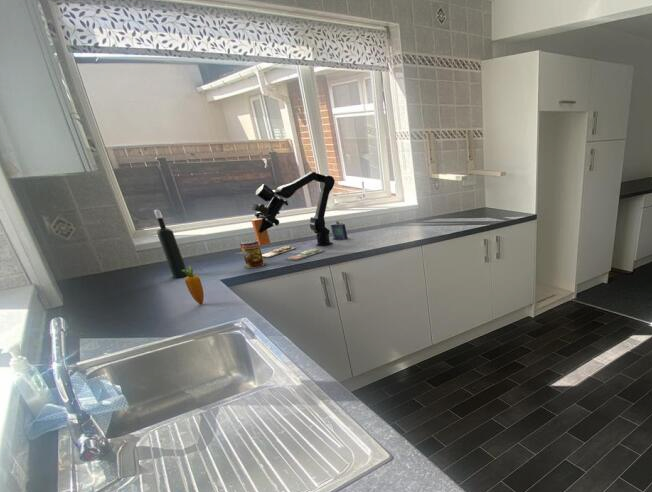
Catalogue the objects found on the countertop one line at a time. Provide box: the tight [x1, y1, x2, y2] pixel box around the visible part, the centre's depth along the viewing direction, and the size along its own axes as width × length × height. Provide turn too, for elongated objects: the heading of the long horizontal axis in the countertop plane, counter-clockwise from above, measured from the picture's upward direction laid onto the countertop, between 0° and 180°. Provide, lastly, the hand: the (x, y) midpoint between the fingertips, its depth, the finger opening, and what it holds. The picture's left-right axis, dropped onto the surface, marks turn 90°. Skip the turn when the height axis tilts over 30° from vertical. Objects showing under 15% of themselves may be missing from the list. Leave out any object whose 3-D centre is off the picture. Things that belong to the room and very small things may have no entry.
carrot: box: [182, 265, 205, 306], centre depth 158 cm, size 5×5×15 cm
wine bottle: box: [153, 209, 188, 279], centre depth 190 cm, size 6×6×30 cm
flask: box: [329, 220, 348, 240], centre depth 257 cm, size 9×3×11 cm, turn 84°
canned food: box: [239, 239, 265, 269], centre depth 207 cm, size 8×8×12 cm
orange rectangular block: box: [250, 218, 271, 247], centre depth 220 cm, size 5×4×13 cm
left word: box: [261, 245, 297, 258], centre depth 232 cm, size 19×7×2 cm, turn 158°
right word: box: [286, 248, 324, 261], centre depth 225 cm, size 19×7×2 cm, turn 158°
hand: (258, 232), depth 220 cm, fingers closed on orange rectangular block, 4 cm apart
